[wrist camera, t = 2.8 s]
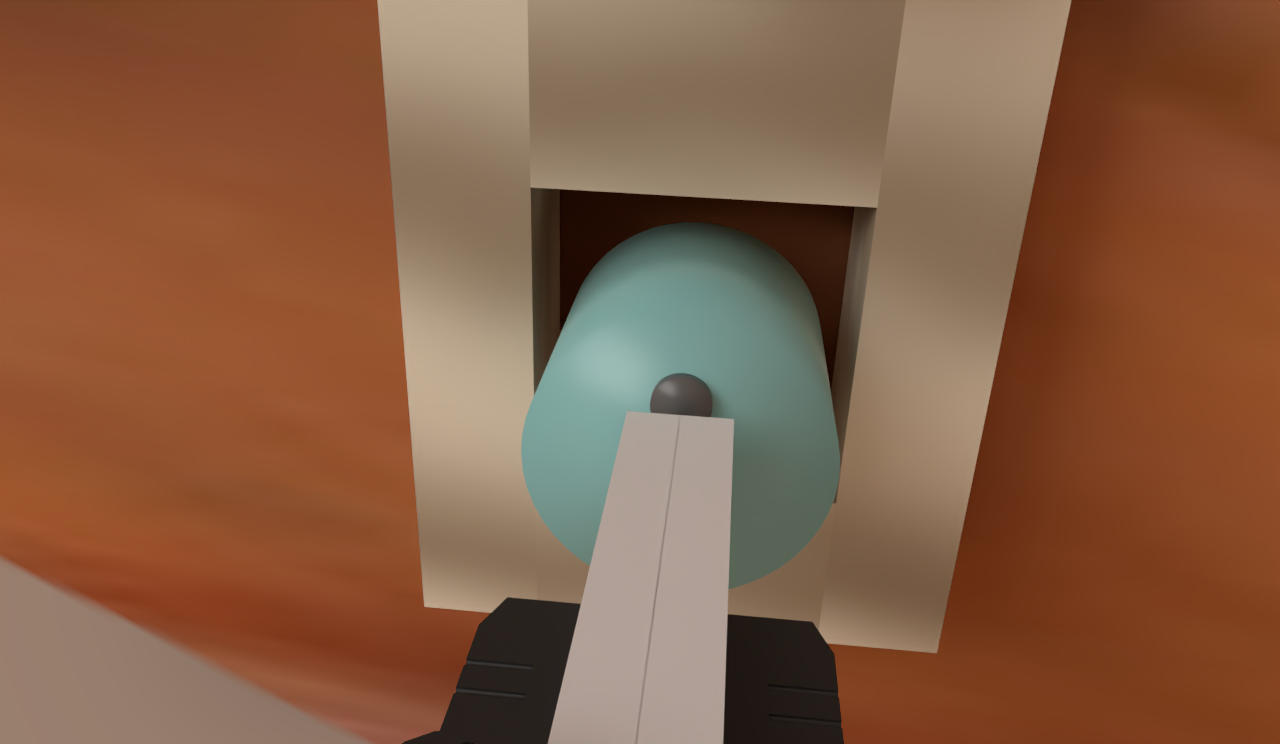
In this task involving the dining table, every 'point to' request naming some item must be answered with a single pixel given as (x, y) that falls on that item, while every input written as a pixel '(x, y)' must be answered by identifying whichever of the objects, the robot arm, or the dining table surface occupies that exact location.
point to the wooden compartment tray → (727, 169)
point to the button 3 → (690, 386)
